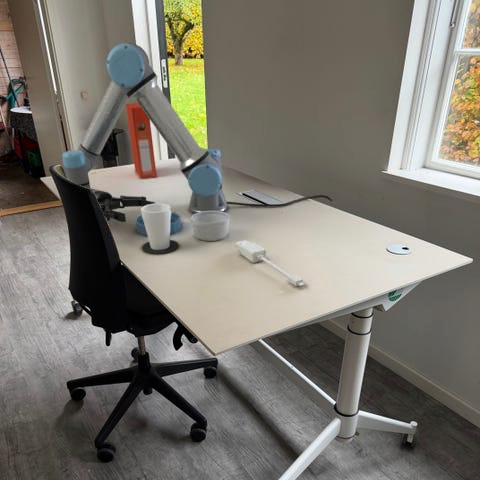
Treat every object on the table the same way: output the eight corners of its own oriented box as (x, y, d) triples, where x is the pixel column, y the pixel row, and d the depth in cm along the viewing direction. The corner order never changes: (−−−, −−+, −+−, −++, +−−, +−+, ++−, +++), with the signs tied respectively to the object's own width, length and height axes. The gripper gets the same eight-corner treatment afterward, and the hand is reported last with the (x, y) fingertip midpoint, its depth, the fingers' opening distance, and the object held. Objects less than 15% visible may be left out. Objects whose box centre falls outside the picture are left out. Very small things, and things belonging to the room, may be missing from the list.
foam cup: (150, 253, 151) (145, 214, 144) (142, 244, 158) (136, 206, 151) (178, 247, 155) (174, 209, 148) (168, 238, 162) (164, 201, 155)
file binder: (140, 179, 230) (131, 108, 213) (134, 170, 244) (125, 103, 227) (156, 177, 232) (149, 106, 215) (150, 169, 246) (142, 102, 229)
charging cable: (295, 292, 129) (296, 282, 127) (233, 250, 152) (233, 240, 150) (309, 288, 131) (310, 277, 130) (246, 246, 154) (247, 237, 152)
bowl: (182, 220, 178) (181, 210, 176) (180, 236, 165) (179, 225, 163) (139, 221, 178) (138, 212, 176) (133, 237, 164) (132, 227, 162)
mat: (179, 239, 162) (179, 238, 162) (177, 253, 152) (177, 252, 151) (144, 241, 161) (144, 239, 161) (140, 255, 151) (140, 254, 151)
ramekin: (212, 226, 172) (212, 207, 169) (237, 235, 164) (237, 216, 161) (184, 236, 164) (183, 216, 161) (209, 246, 156) (208, 226, 153)
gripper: (126, 202, 176) (167, 212, 165) (71, 221, 159) (112, 234, 149) (123, 182, 172) (165, 191, 162) (66, 199, 155) (108, 211, 145)
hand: (140, 212), depth 155 cm, fingers open, 13 cm apart
